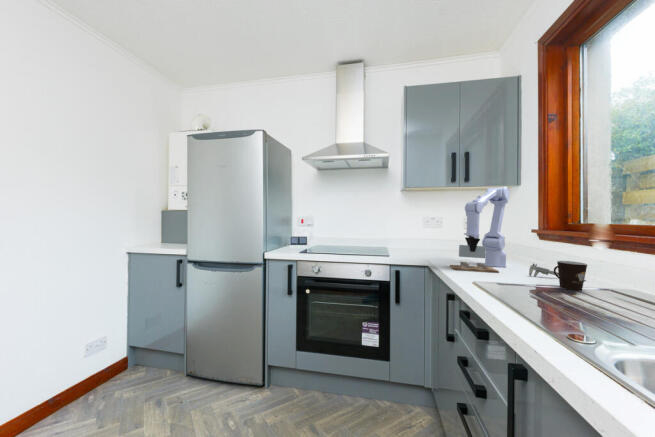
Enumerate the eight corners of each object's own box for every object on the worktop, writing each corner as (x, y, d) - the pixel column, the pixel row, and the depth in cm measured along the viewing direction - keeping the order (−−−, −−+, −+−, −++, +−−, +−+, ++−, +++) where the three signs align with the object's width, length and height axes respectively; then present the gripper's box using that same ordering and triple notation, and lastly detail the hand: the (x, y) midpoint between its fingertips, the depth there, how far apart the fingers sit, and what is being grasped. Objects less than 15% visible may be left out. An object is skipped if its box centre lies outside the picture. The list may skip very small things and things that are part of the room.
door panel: (483, 257, 139) (484, 246, 139) (485, 258, 137) (485, 246, 137) (458, 256, 141) (459, 244, 141) (459, 256, 139) (460, 245, 139)
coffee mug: (577, 286, 107) (578, 261, 107) (592, 292, 98) (593, 265, 98) (542, 283, 110) (543, 259, 110) (554, 289, 102) (555, 263, 101)
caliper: (529, 276, 125) (530, 263, 125) (528, 276, 126) (529, 262, 126) (586, 282, 117) (587, 267, 117) (585, 281, 118) (585, 267, 118)
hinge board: (490, 268, 140) (491, 262, 140) (498, 272, 130) (499, 266, 130) (449, 266, 144) (449, 260, 144) (454, 270, 134) (454, 263, 134)
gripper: (460, 224, 147) (459, 249, 147) (468, 225, 133) (467, 252, 133) (474, 225, 145) (473, 250, 146) (484, 225, 131) (483, 253, 131)
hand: (471, 251), depth 139 cm, fingers closed on door panel, 2 cm apart
